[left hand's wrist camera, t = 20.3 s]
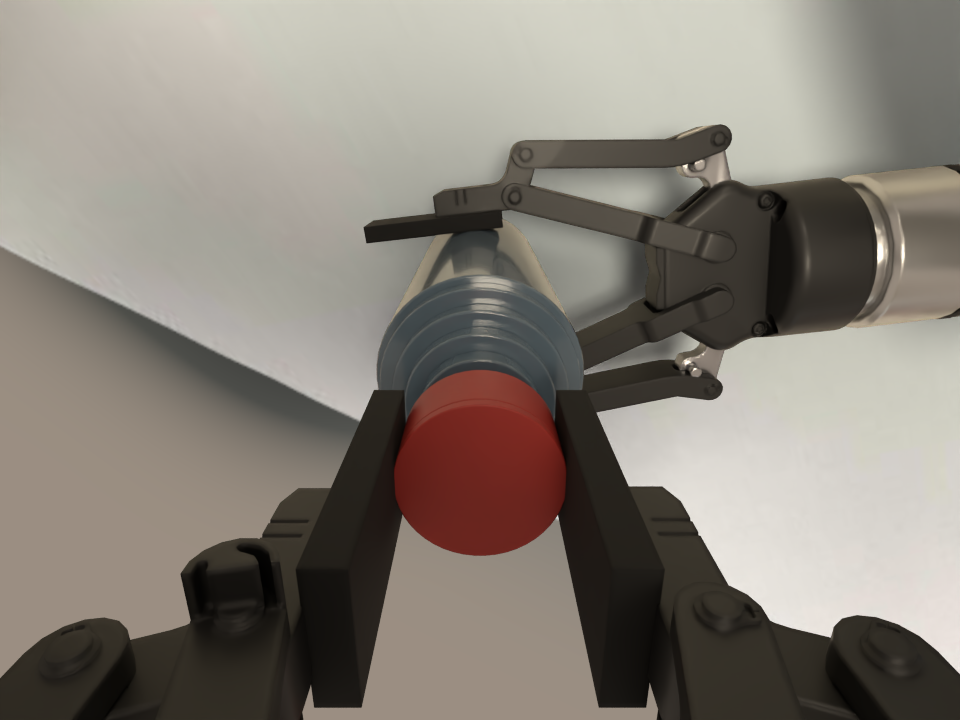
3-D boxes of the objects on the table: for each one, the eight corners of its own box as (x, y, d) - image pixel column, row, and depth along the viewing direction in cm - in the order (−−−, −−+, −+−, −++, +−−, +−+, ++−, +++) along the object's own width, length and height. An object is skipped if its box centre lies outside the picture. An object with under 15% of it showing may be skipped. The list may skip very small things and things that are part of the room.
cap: (547, 508, 15) (557, 560, 13) (402, 499, 15) (391, 551, 13) (565, 374, 14) (578, 410, 12) (406, 363, 14) (394, 398, 12)
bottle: (468, 190, 34) (447, 266, 12) (557, 259, 35) (688, 444, 13) (403, 281, 35) (279, 495, 13) (490, 343, 37) (506, 628, 15)
